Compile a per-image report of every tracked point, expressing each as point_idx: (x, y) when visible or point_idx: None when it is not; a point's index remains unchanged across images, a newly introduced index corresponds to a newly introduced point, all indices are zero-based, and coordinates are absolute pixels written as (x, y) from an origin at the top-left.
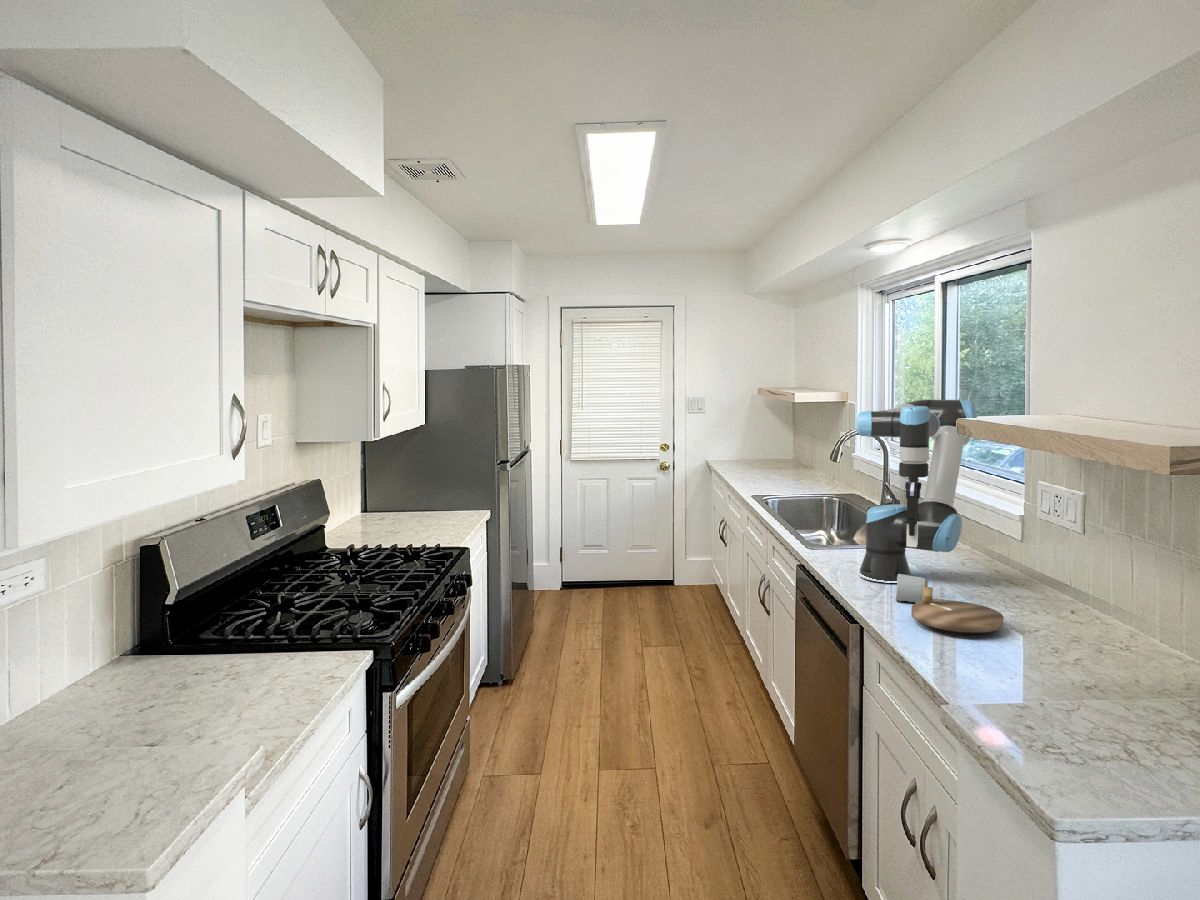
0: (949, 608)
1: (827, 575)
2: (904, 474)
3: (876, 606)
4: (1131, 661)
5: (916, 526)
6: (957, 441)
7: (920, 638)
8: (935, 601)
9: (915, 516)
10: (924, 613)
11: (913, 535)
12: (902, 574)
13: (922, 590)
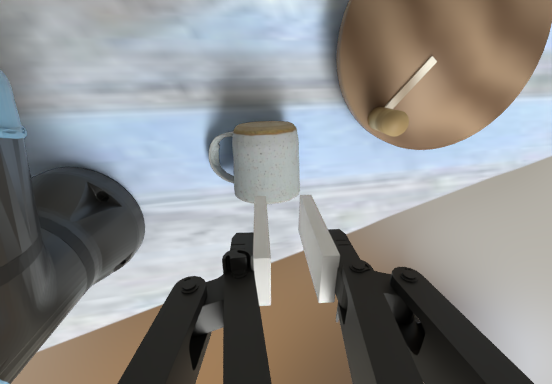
0: (425, 63)
1: (140, 311)
2: None
3: (326, 210)
4: None
5: (336, 250)
6: None
7: (513, 120)
8: (362, 99)
9: (449, 308)
10: (467, 120)
11: (339, 233)
12: (264, 194)
13: (297, 135)
